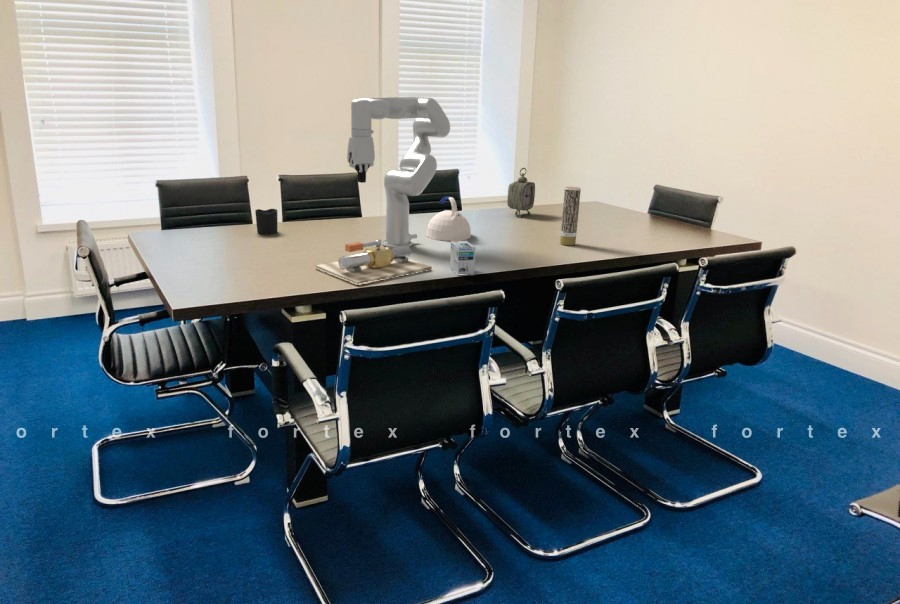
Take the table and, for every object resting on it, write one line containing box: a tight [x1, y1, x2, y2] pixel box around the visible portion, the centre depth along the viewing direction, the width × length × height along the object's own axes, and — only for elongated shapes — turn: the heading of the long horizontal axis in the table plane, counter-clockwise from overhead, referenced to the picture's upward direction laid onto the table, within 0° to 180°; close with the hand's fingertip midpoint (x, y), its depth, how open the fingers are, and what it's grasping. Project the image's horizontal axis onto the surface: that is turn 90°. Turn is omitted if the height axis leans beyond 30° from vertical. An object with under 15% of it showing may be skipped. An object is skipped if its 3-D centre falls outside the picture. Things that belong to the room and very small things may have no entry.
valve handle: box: [344, 239, 382, 253], centre depth 248 cm, size 3×15×2 cm, turn 136°
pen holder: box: [254, 208, 278, 235], centre depth 305 cm, size 9×9×10 cm
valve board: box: [315, 258, 433, 284], centre depth 255 cm, size 34×26×2 cm
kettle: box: [426, 195, 472, 242], centre depth 310 cm, size 20×21×18 cm
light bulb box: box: [449, 240, 476, 276], centre depth 256 cm, size 11×7×11 cm, turn 17°
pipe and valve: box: [338, 245, 412, 273], centre depth 253 cm, size 30×6×8 cm, turn 133°
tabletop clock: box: [506, 167, 536, 218], centre depth 360 cm, size 14×9×25 cm, turn 147°
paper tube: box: [559, 186, 582, 247], centre depth 301 cm, size 7×7×25 cm
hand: (361, 182), depth 266 cm, fingers closed
